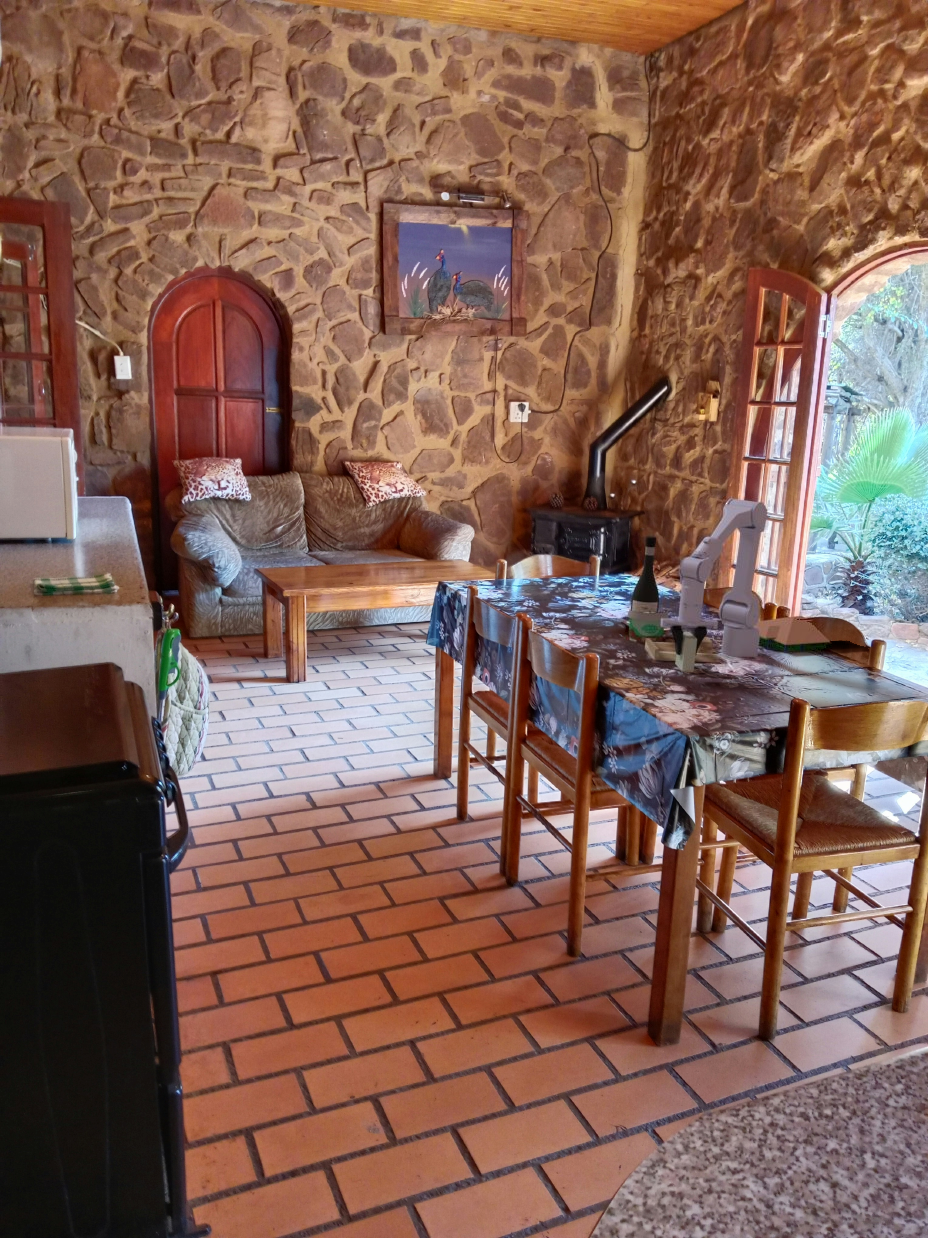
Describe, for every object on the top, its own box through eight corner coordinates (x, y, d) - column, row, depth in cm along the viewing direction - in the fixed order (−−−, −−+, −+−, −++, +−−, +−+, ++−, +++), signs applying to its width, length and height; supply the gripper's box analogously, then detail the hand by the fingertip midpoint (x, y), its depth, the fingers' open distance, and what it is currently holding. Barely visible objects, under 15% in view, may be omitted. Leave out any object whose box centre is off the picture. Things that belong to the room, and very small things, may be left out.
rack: (707, 654, 280) (709, 640, 279) (719, 665, 269) (721, 651, 268) (644, 652, 279) (645, 638, 278) (653, 663, 268) (655, 649, 267)
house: (727, 635, 304) (730, 609, 302) (814, 630, 316) (817, 605, 314) (776, 656, 283) (779, 628, 281) (867, 649, 295) (871, 622, 293)
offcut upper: (706, 644, 276) (707, 637, 276) (711, 649, 271) (712, 642, 271) (693, 644, 276) (694, 636, 275) (698, 649, 271) (699, 641, 270)
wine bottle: (655, 641, 290) (665, 539, 283) (627, 639, 292) (636, 537, 285) (655, 635, 298) (665, 535, 291) (628, 632, 300) (637, 533, 292)
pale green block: (686, 664, 266) (689, 632, 264) (693, 672, 259) (697, 638, 257) (675, 664, 266) (678, 631, 263) (682, 672, 259) (685, 638, 257)
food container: (633, 648, 282) (636, 614, 279) (624, 643, 288) (627, 609, 285) (673, 647, 285) (676, 613, 283) (663, 642, 291) (666, 608, 288)
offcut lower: (705, 653, 277) (706, 644, 277) (711, 659, 271) (712, 650, 271) (691, 652, 277) (692, 643, 276) (697, 658, 271) (698, 649, 271)
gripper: (667, 606, 254) (662, 657, 257) (723, 608, 254) (717, 659, 258) (660, 599, 260) (655, 650, 264) (715, 601, 261) (709, 651, 265)
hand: (685, 654), depth 261 cm, fingers open, 4 cm apart
